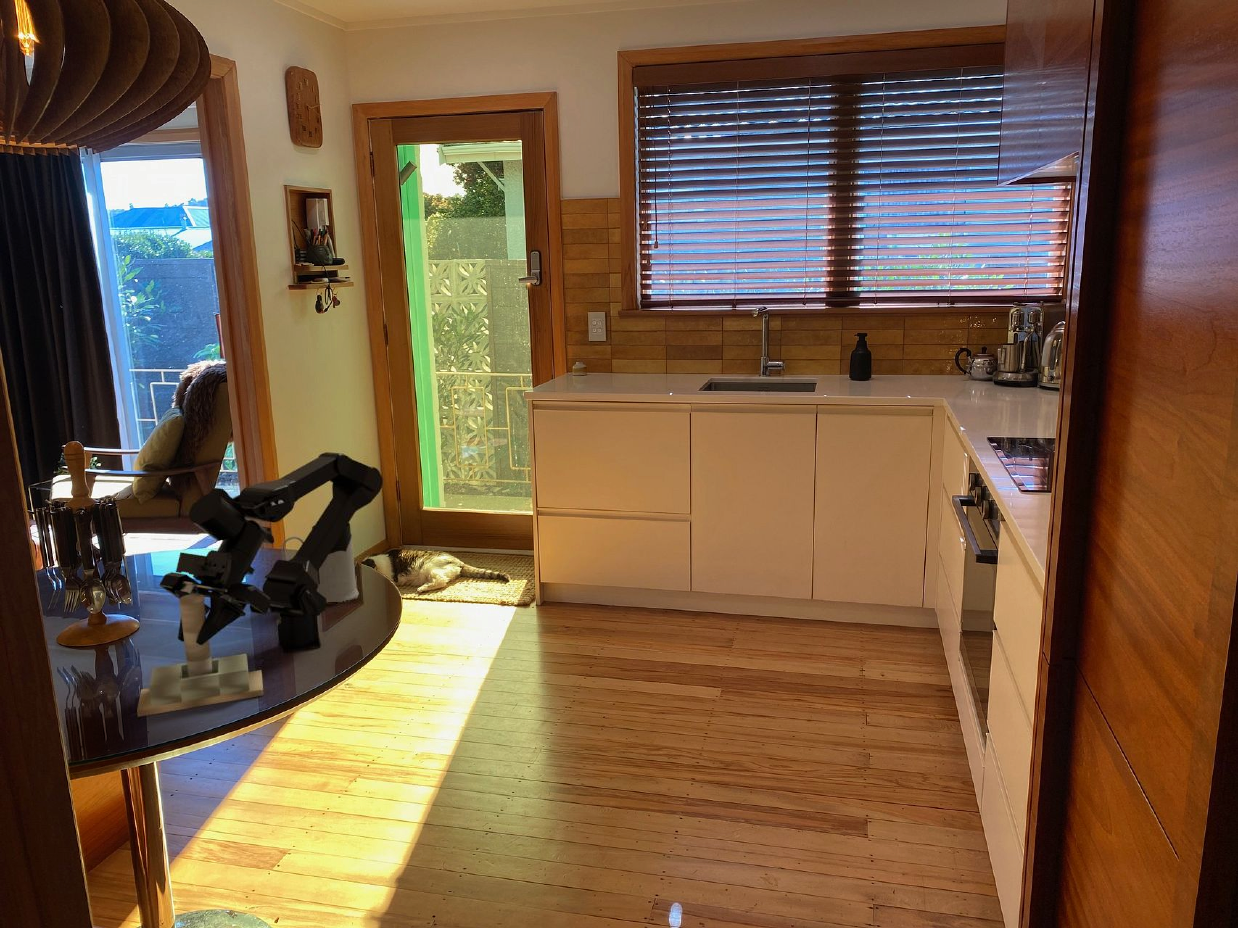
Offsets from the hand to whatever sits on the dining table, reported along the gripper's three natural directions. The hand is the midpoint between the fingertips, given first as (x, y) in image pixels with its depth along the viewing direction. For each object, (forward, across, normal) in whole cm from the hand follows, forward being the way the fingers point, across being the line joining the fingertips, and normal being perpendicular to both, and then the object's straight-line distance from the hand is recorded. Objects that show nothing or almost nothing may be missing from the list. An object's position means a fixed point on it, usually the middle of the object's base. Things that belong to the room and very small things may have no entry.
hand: (189, 642), depth 147 cm
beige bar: (+4, 0, +6) cm, 7 cm away
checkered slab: (+6, 0, +8) cm, 10 cm away
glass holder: (-24, -13, +39) cm, 48 cm away
